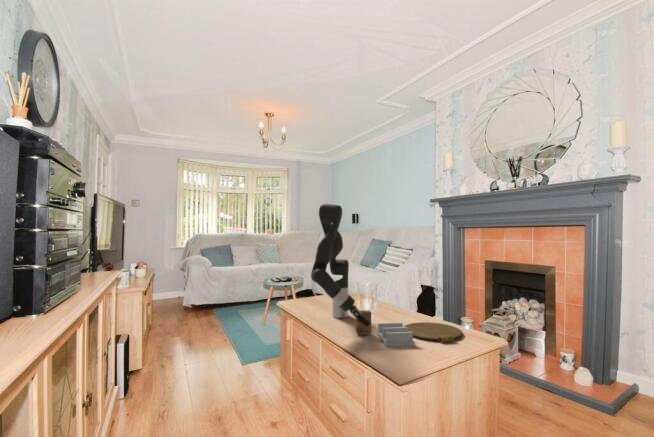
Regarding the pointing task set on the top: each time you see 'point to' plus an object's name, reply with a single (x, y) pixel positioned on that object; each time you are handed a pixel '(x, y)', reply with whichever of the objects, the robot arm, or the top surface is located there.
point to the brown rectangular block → (360, 326)
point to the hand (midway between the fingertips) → (367, 323)
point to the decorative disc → (434, 331)
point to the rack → (395, 334)
